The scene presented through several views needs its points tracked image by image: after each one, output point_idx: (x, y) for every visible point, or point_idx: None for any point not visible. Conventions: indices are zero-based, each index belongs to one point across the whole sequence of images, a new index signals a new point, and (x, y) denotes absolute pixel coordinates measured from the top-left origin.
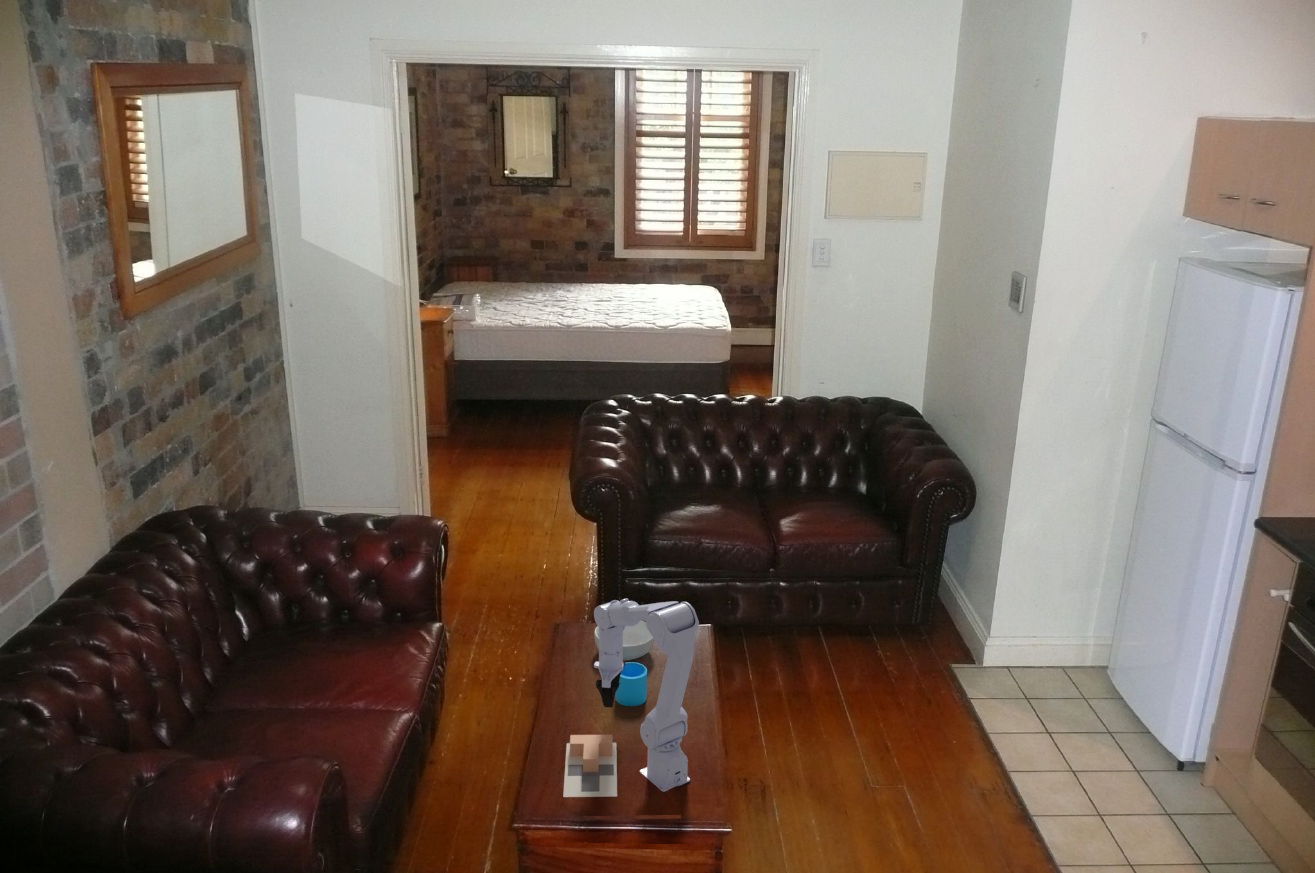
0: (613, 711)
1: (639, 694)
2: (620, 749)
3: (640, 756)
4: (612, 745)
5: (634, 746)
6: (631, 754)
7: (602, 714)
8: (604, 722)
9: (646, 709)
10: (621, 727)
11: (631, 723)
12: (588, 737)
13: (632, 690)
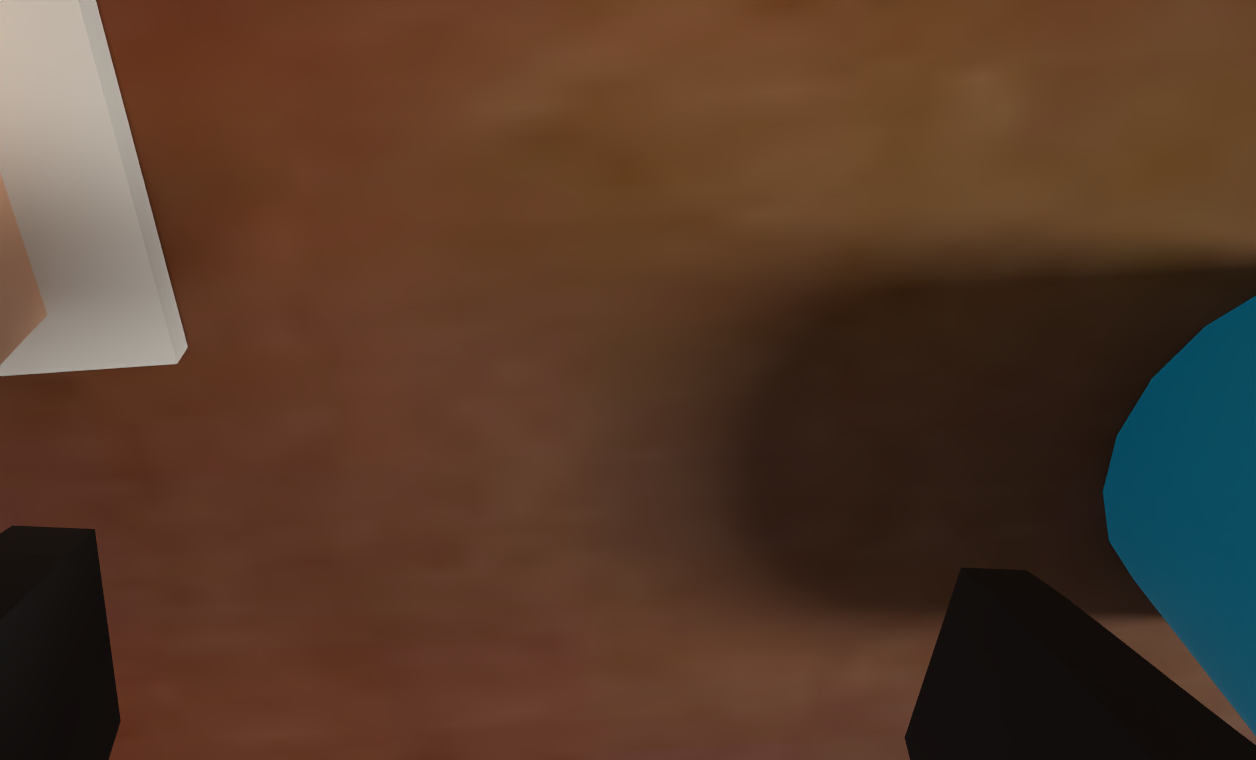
0: (1026, 254)
1: (1203, 662)
2: (91, 404)
3: None
4: (91, 314)
5: (205, 558)
6: None
7: (971, 94)
8: (750, 140)
9: None
10: (622, 384)
11: (716, 495)
12: None
13: (1247, 649)
